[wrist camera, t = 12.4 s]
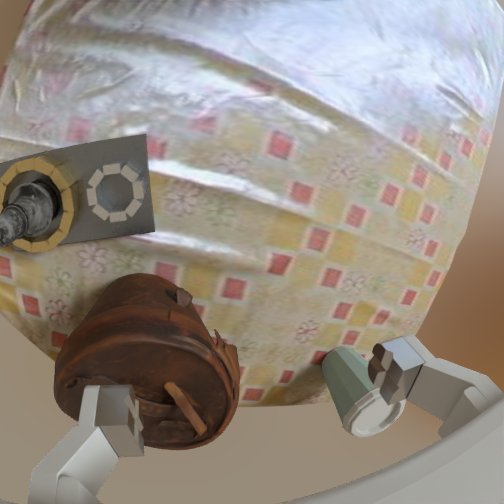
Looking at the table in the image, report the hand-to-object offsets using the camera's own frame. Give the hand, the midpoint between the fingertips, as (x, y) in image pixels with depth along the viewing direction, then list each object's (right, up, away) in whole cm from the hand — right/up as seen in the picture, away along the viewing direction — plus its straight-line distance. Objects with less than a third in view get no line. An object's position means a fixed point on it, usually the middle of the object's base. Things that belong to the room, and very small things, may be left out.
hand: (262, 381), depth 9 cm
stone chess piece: (-24, +10, +21) cm, 33 cm away
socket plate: (-21, +11, +22) cm, 32 cm away
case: (-14, -4, +31) cm, 34 cm away
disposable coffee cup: (+15, -14, +43) cm, 47 cm away
